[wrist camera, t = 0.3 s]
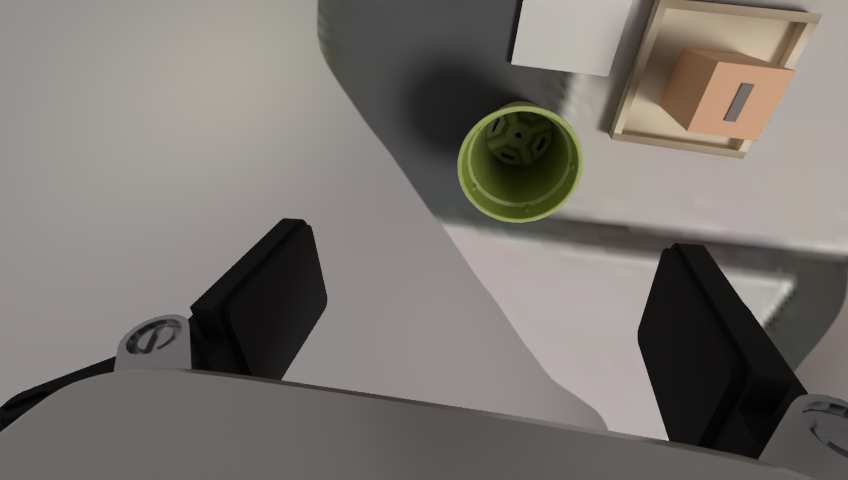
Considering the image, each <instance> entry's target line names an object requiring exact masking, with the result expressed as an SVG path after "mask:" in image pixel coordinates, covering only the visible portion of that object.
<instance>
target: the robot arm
mask: <svg viewBox="0 0 848 480" xmlns="http://www.w3.org/2000/svg"><path fill="white" fill-rule="evenodd" d="M326 305H327V294H326V289H325V285H324V280H323V276H322V271H321V267H320V262H319V258H318V253H317V249H316V244H315V240H314V235H313V231H312V228H311V226H310V225H307V223H306V222H305V221H304V220H302V219H288V218H284V219H282V220H281V221H280V222H279V223H278V224H276V225H275V226H274V227H273V228H272V229H271V230H270V231H269V232H268V233H267V234H266V235H265V236H264V237H263V238H262V239H261V240H260V241H259V242H258V243H257V244H256V245H254V246H253V247H252V248H251V249H250V250H249V251H248V252H247V253H246V254H245V255H244V256H243V257H242V258H241V259H240V260H239V261H238V262H237V263H236V264H235V265H233V266H232V268H231V269H229V270H228V271H227V272H226V273H225V274H224V275H223V276H222V277H221V278H220V279H219V280H218V281H217V282H216V283H215V284H214V285H213V286H211V288H209V289H208V290H207V291H206V292H205V293H204V294H203V295H202V296H201V297H200V298H199V299H198V300H197V301H196V302H195V303H194V304H193V305H192V306H191V307H190V309H191V311H192V313H193V315H192V316H191V317H190V318H189V319H188V320H187V319H186V318H185V317H183V316H180V315H164V316H159V317H155V318H153V319H150V320H148V321H145V322H143V323H142V324H140V325H138V326H136V327H135V328H133V329H132V330H131V331H130V332H128V333H127V334H126V335H125V336H124V338H123V339H122V340H121V341H120V344H119V346H118V349H117V355H116V356H115V357H112V358H110V359H107V360H104V361H102V362H99V363H96V364H94V365H91V366H89V367H86V368H84V369H81V370H78V371H75V372H73V373H70V374H68V375H65V376H62V377H60V378H57V379H54V380H52V381H49V382H47V383H44V384H41V385H39V386H36V387H33V388H31V389H29V390H26V391H23V392H21V393H19V394H17V395H16V396H14V397H12V398H11V399H10V400H8V401H7V402H6V403H5V404H4V405H3V406H1V407H0V480H848V402H846V401H844V400H841V399H838V398H834V397H830V396H827V395H819V394H808V393H807V391H806V390H805V389H804V387H803V386H802V384H801V383H800V381H799V380H798V378H797V377H796V376H795V374H794V373H793V371H792V370H791V368H790V367H789V366H788V364H787V363H786V361H785V360H784V358H783V357H782V355H781V354H780V353H779V351H778V350H777V348H776V347H775V345H774V344H773V343H772V341H771V340H770V338H769V337H768V335H767V334H766V333H765V331H764V330H763V328H762V327H761V325H760V324H759V322H758V321H757V320H756V318H755V317H754V315H753V314H752V312H751V311H750V310H749V308H748V307H747V306H746V305H745V304H744V303H743V301H742V300H741V299H740V297H739V296H738V294H737V293H736V291H735V290H734V288H733V287H732V286H731V284H730V283H729V281H728V280H727V278H726V277H725V275H724V274H723V273H722V271H721V270H720V268H719V267H718V265H717V264H716V262H715V261H714V260H713V258H712V257H711V255H710V254H709V252H708V251H707V249H706V248H705V247H704V246H703V245H698V244H683V243H675V244H673V246H672V247H671V249H669V248H665V249H664V250H663V252H662V255H661V258H660V261H659V264H658V267H657V271H656V274H655V277H654V280H653V283H652V287H651V290H650V293H649V296H648V300H647V303H646V306H645V309H644V312H643V316H642V319H641V322H640V325H639V329H638V344H639V347H640V350H641V353H642V357H643V360H644V363H645V366H646V369H647V372H648V375H649V379H650V382H651V385H652V388H653V391H654V394H655V397H656V401H657V404H658V407H659V410H660V413H661V416H662V419H663V423H664V426H665V429H666V432H667V435H668V438H669V441H666V440H660V439H654V438H648V437H642V436H637V435H631V434H625V433H619V432H614V431H608V430H601V429H595V428H588V427H583V426H576V425H570V424H564V423H557V422H551V421H545V420H539V419H532V418H526V417H519V416H513V415H507V414H501V413H494V412H488V411H482V410H475V409H468V408H462V407H455V406H449V405H442V404H436V403H429V402H423V401H416V400H410V399H403V398H397V397H390V396H383V395H377V394H370V393H364V392H357V391H350V390H343V389H337V388H329V387H323V386H316V385H309V384H302V383H295V382H289V381H282V380H281V379H282V377H283V376H284V374H285V373H286V371H287V369H288V368H289V366H290V365H291V363H292V361H293V360H294V358H295V357H296V355H297V353H298V352H299V350H300V349H301V347H302V345H303V344H304V342H305V341H306V339H307V337H308V336H309V334H310V332H311V331H312V329H313V327H314V326H315V324H316V323H317V321H318V320H319V318H320V316H321V315H322V313H323V311H324V310H325V308H326Z"/></svg>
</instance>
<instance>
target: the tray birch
mask: <svg viewBox="0 0 848 480" xmlns="http://www.w3.org/2000/svg"><path fill="white" fill-rule="evenodd" d="M821 16H822V14H815V13H806V12H796V11H786V10H776V9H767V8H757V7H747V6H737V5H727V4H718V3H708V2H698V1H688V0H655V1H654V4H653V7H652V10H651V13H650V16H649V18H648V21H647V24H646V27H645V30H644V33H643V36H642V39H641V42H640V44H639V47H638V50H637V53H636V56H635V59H634V62H633V65H632V68H631V71H630V73H629V76H628V79H627V82H626V85H625V88H624V91H623V94H622V97H621V100H620V102H619V105H618V108H617V111H616V114H615V117H614V120H613V123H612V126H611V128H610V131H609V136H610V138H611V139H612V140H618V141H625V142H632V143H639V144H646V145H652V146H659V147H666V148H673V149H679V150H686V151H693V152H700V153H707V154H713V155H720V156H727V157H734V158H740V159H743V158H744V156H745V154H746V152H747V150H748V148H749V147H750V145H751V143H752V140H745V139H738V138H731V137H723V136H716V135H709V134H702V133H695V132H688V131H686V130H685V129H684V128H683V127H682V126H681V125H680V124H678V123H677V122H676V121H675V120H674V119H673V118H672V117H671V116H670V115H669V114H668V113H667V112H665V111H664V110H663V109H662V108H661V107H660V103H661V101H662V98H663V96H664V93H665V91H666V88H667V86H668V83H669V81H670V78H671V76H672V73H673V71H674V68H675V66H676V63H677V61H678V58H679V56H680V53H681V51H682V48H683V47H685V48H694V49H702V50H711V51H720V52H728V53H737V54H745V55H748V56H752V57H755V58H758V59H761V60H764V61H767V62H770V63H773V64H776V65H779V66H782V67H785V68H788V69H791V70H792V69H793V67H794V65H795V63H796V62H797V60H798V58H799V56H800V54H801V53H802V51H803V49H804V47H805V45H806V43H807V42H808V40H809V38H810V36H811V34H812V33H813V31H814V29H815V27H816V25H817V24H818V22H819V20H820V18H821Z"/></svg>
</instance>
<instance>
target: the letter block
mask: <svg viewBox="0 0 848 480" xmlns="http://www.w3.org/2000/svg"><path fill="white" fill-rule="evenodd" d="M795 72H796V71H795V70H791V69H788V68H785V67H782V66H779V65H776V64H773V63H770V62H767V61H764V60H761V59H758V58H755V57H752V56H748V55H745V54H737V53H728V52H720V51H711V50H702V49H694V48H685V47H683V48H682V51H681V53H680V56H679V58H678V61H677V63H676V66H675V68H674V71H673V73H672V76H671V78H670V81H669V83H668V86H667V88H666V91H665V93H664V96H663V98H662V101H661V103H660V107H661V108H662V109H663V110H664V111H665V112H667V113H668V114H669V115H670V116H671V117H672V118H673V119H674V120H675V121H676V122H677V123H678V124H680V125H681V126H682V127H683V128H684V129H685V130H686V131H688V132H695V133H702V134H709V135H716V136H723V137H731V138H738V139H745V140H752V141H757V140H758V139H759V137H760V135H761V133H762V131H763V130H764V128H765V126H766V124H767V122H768V121H769V119H770V117H771V115H772V113H773V112H774V110H775V108H776V106H777V104H778V103H779V101H780V99H781V97H782V96H783V94H784V92H785V90H786V88H787V87H788V85H789V83H790V81H791V79H792V78H793V76H794V74H795Z"/></svg>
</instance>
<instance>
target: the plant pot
mask: <svg viewBox="0 0 848 480" xmlns="http://www.w3.org/2000/svg"><path fill="white" fill-rule="evenodd" d="M530 112H534V113H537V114H536V115H534V114H532V113H530ZM498 118H499V119H500V121H499V123H498V124H497V126H496V129H495V131H494V132H493V130H492V128H493V124H494V122H495V120H496V119H498ZM516 133H520V134H521V137H520V138H517V137H516ZM543 137H545V138H546V141H545V143H544V145H543V147H542V148H541V149H540V150H537V147H538V146H539V144H540V143H541V141H542V138H543ZM503 152H504V153H505V154H507V155H510V156H512V157H515V159H513V160H512V159H509V158H505V157H503V156H502V153H503ZM457 168H458V177H459V181H460V185H461V187H462V189H463V191H464V193H465V195H466V196H467V198H468V199H469V200H470V201H471V203H472V204H473V205H474V206H475V207H477V208H478V209H479V210H480V211H482V212H483V213H485V214H486V215H489V216H491V217H493V218H496V219H499V220H502V221H508V222H528V221H534V220H538V219H541V218H543V217H546V216H548V215H550V214H552V213H554V212H555V211H557V210H558V209H559V208H561V207H562V206H563V205H564V204H565V203H566V202H567V201H568V200H569V199H570V198H571V196H572V195H573V193H574V192H575V190H576V188H577V186H578V184H579V182H580V179H581V176H582V171H583V152H582V147H581V144H580V141H579V139H578V137H577V135H576V133H575V131H574V130H573V129H572V127H571V126H570V125H569V124H568V123H567V122H566V121H565V120H564V119H563V118H561V117H560V116H559V115H557V114H555V113H553V112H551V111H549V110H547V109H544V108H541V107H539V106H538V105H536V104H534V103H531V102H525V101H516V102H513V103H509V104H507V105H505V106H503V107H501V108H500V109H498V110H497V111H495V112H493V113H491V114H489V115H487V116H486V117H484V118H483V119H481V120H480V121H479V122H478V123H477V124H476V125H475V126H474V127H473V128H472V129H471V130H470V132H469V133H468V134H467V136H466V138H465V139H464V141H463V143H462V146H461V148H460V152H459V156H458V165H457Z"/></svg>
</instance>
